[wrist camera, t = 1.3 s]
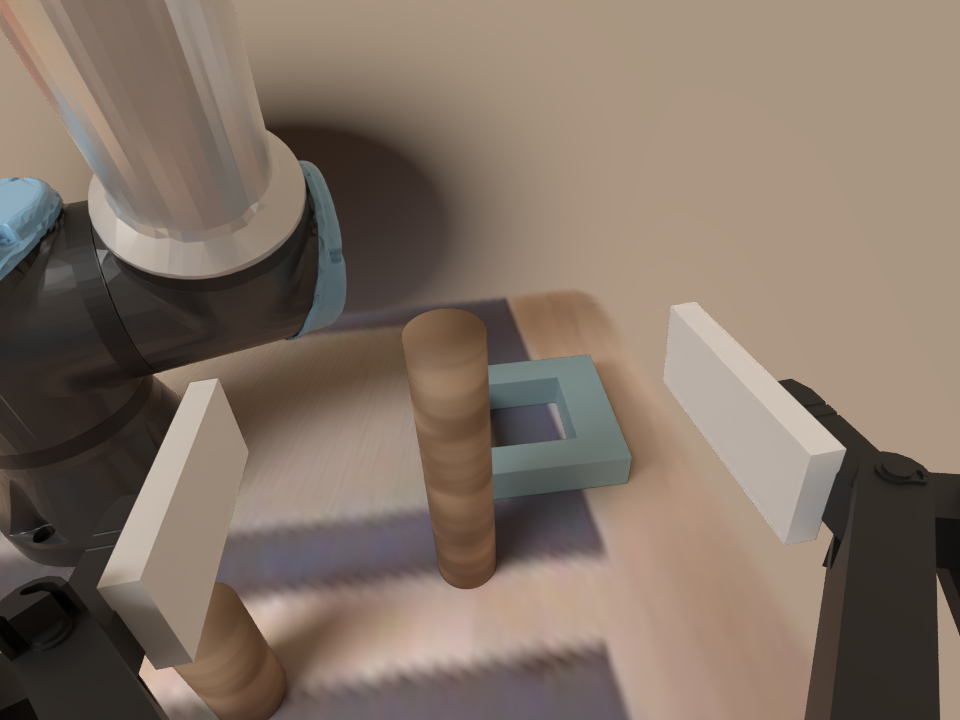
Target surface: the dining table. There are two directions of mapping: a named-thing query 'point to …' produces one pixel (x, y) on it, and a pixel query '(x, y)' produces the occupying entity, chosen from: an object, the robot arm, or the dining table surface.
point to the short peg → (234, 662)
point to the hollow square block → (585, 417)
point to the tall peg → (454, 439)
